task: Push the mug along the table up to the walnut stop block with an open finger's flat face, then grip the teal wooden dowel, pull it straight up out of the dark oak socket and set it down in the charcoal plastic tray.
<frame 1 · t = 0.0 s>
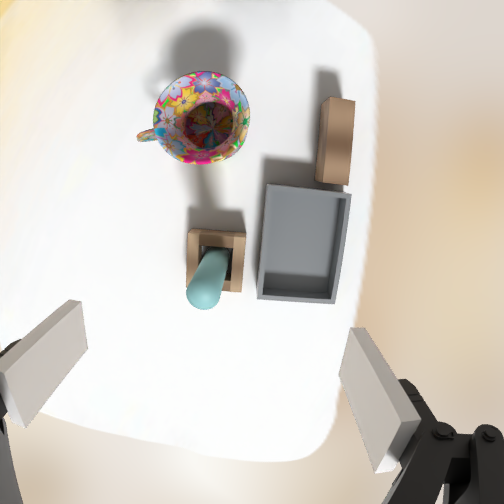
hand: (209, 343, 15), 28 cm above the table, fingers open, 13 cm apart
dowel: (211, 272, 36), in the socket
mug: (203, 131, 39), on the table
stop block: (329, 143, 39), on the table
socket: (217, 256, 43), on the table
tray: (300, 241, 42), on the table
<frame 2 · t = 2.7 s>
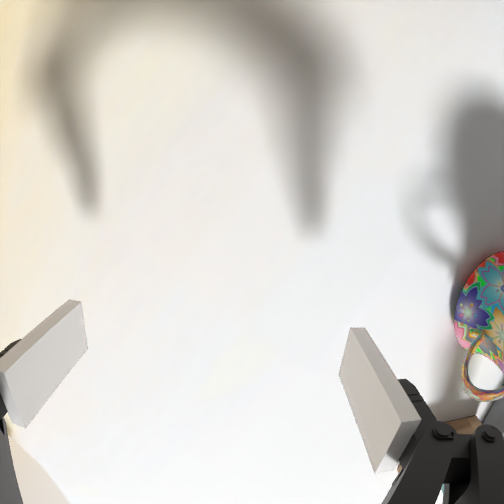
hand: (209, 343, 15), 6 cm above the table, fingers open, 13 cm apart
mug: (476, 303, 20), on the table
socket: (437, 444, 24), on the table
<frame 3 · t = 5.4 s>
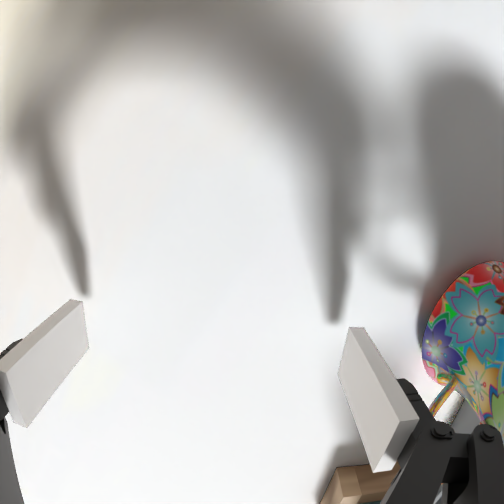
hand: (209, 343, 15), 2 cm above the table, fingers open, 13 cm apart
mug: (453, 329, 17), on the table, touching hand
socket: (365, 486, 21), on the table
tray: (473, 445, 20), on the table
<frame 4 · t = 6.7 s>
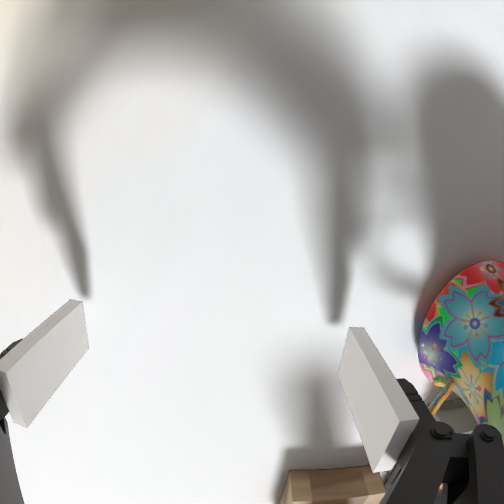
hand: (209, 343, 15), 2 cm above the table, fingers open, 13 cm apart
mug: (450, 330, 17), on the table, touching hand
socket: (324, 491, 21), on the table
tray: (444, 455, 20), on the table
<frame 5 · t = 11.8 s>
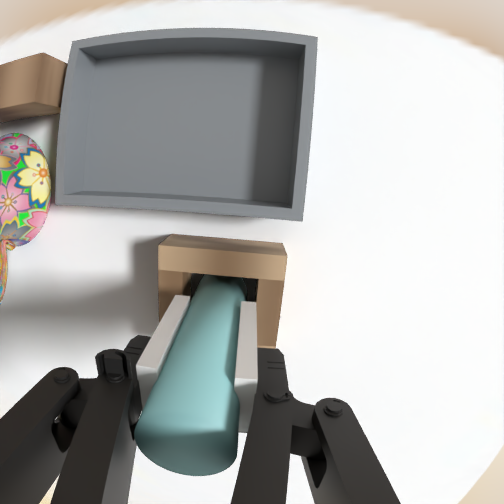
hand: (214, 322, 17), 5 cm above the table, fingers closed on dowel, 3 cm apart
dowel: (209, 343, 15), in the socket, touching gripper
mug: (24, 204, 20), on the table
stop block: (27, 99, 18), on the table
socket: (222, 291, 21), on the table
tray: (186, 122, 18), on the table
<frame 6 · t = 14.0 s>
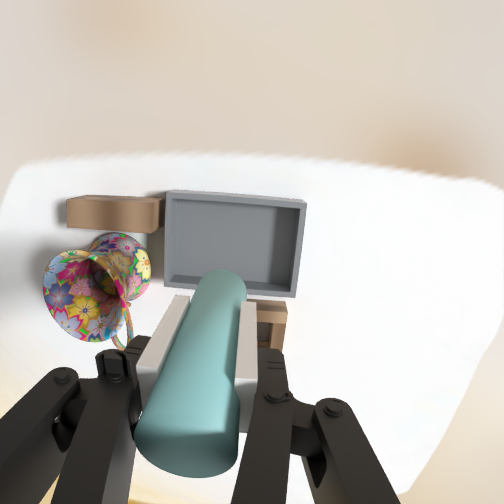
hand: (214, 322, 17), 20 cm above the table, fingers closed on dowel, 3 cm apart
dowel: (209, 344, 15), point 22 cm above the table, touching gripper
mug: (126, 274, 38), on the table
stop block: (124, 209, 35), on the table
socket: (252, 325, 39), on the table
tray: (234, 238, 36), on the table
when the fingers open (6 cm above the table, at t = 16.7 s): dowel stays where it is, resting on tray.
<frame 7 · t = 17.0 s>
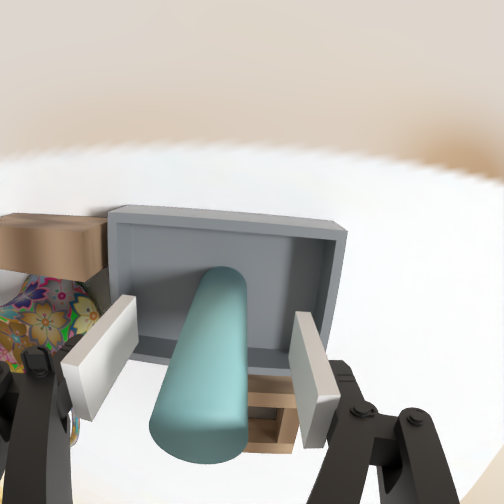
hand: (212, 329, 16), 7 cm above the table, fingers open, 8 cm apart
dowel: (214, 338, 15), in the tray, point 8 cm above the table
mug: (72, 327, 24), on the table
stop block: (59, 234, 22), on the table
socket: (253, 401, 25), on the table
tray: (223, 283, 23), on the table
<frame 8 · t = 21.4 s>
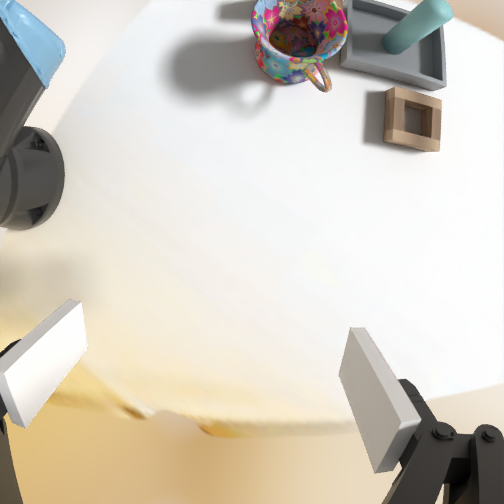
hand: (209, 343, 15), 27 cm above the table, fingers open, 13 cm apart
dowel: (413, 27, 27), in the tray, point 8 cm above the table
mug: (293, 64, 35), on the table
socket: (408, 121, 36), on the table
tray: (389, 46, 34), on the table
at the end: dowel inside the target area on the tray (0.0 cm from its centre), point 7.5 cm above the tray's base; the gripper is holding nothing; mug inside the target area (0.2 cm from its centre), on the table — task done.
